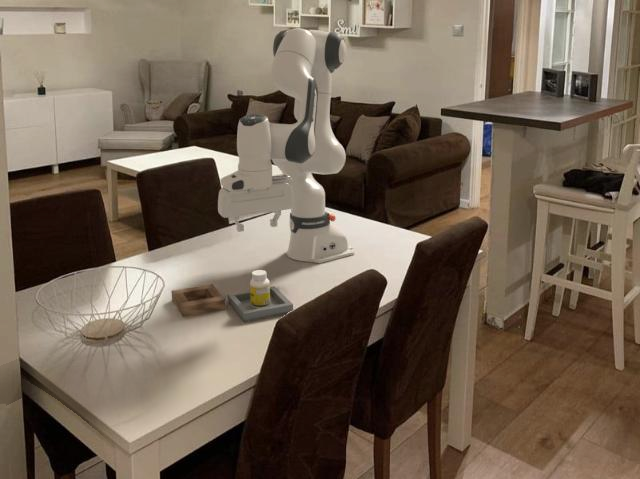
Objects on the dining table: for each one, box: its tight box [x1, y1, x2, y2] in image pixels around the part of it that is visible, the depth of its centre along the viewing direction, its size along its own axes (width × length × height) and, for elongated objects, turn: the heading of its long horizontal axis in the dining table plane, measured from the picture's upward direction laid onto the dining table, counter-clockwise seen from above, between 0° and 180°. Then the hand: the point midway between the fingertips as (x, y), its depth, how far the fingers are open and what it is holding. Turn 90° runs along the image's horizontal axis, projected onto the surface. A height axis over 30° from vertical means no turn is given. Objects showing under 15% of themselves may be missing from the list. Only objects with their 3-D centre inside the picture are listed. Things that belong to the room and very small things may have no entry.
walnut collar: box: [171, 283, 226, 318], centre depth 203 cm, size 12×12×3 cm
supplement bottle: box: [249, 269, 271, 309], centre depth 200 cm, size 5×5×10 cm
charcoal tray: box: [227, 285, 294, 323], centre depth 202 cm, size 14×14×2 cm
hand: (257, 228), depth 194 cm, fingers open, 8 cm apart
